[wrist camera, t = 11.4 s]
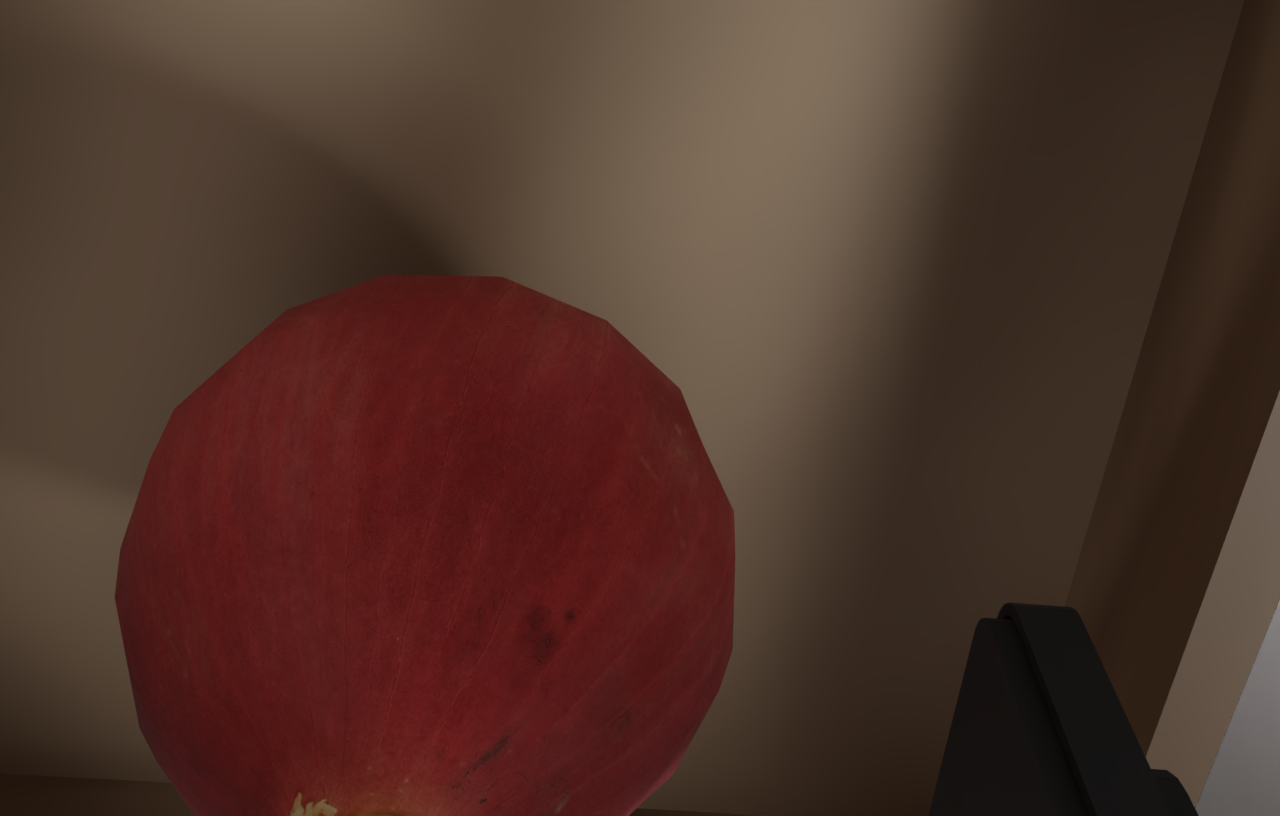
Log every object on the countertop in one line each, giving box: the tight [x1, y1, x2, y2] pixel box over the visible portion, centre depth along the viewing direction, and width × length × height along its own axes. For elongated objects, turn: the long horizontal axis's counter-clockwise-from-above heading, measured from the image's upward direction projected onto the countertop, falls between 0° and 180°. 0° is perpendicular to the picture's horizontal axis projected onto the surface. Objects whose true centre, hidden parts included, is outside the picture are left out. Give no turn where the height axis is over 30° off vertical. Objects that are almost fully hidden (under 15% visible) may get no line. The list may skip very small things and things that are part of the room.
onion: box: [115, 275, 735, 816], centre depth 12 cm, size 6×6×8 cm
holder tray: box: [0, 0, 1280, 816], centre depth 14 cm, size 18×16×4 cm
